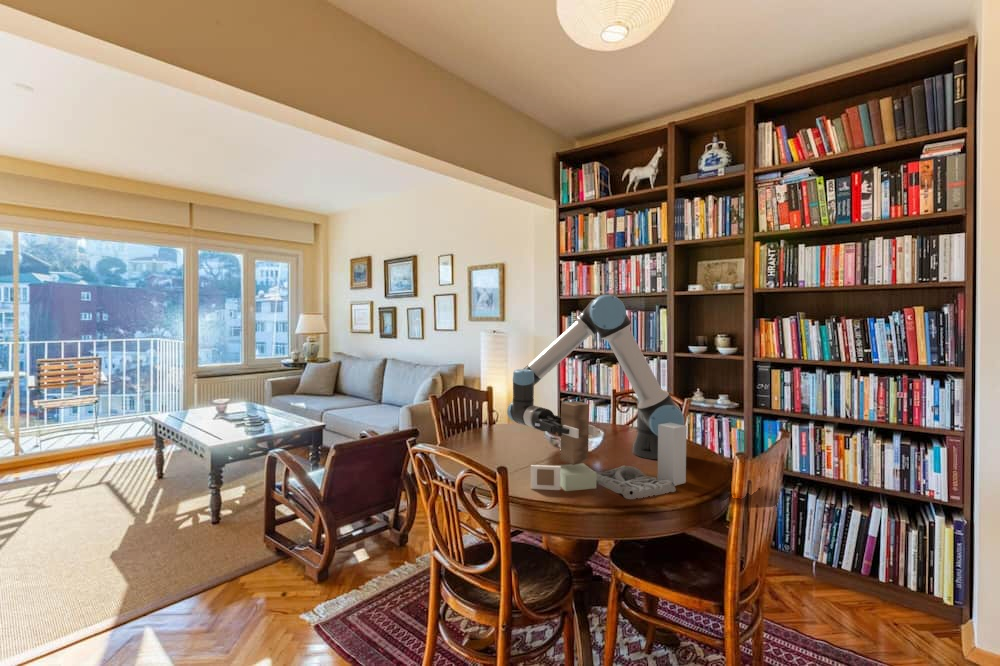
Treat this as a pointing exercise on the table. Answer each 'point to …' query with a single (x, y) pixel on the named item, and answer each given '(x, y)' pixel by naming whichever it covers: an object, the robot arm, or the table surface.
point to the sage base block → (577, 477)
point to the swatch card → (545, 477)
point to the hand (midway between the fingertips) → (586, 432)
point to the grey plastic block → (672, 453)
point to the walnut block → (577, 418)
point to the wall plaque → (633, 482)
